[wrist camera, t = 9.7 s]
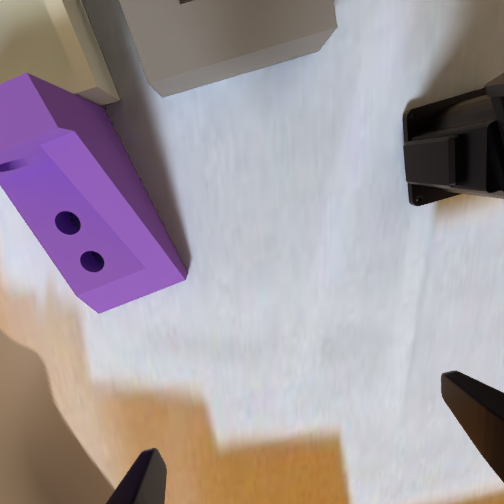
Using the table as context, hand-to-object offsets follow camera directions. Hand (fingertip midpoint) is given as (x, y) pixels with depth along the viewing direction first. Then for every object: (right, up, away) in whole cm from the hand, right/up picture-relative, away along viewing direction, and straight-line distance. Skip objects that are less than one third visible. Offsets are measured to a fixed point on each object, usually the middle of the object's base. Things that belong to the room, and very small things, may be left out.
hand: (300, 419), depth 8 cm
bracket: (-12, +8, +11) cm, 18 cm away
